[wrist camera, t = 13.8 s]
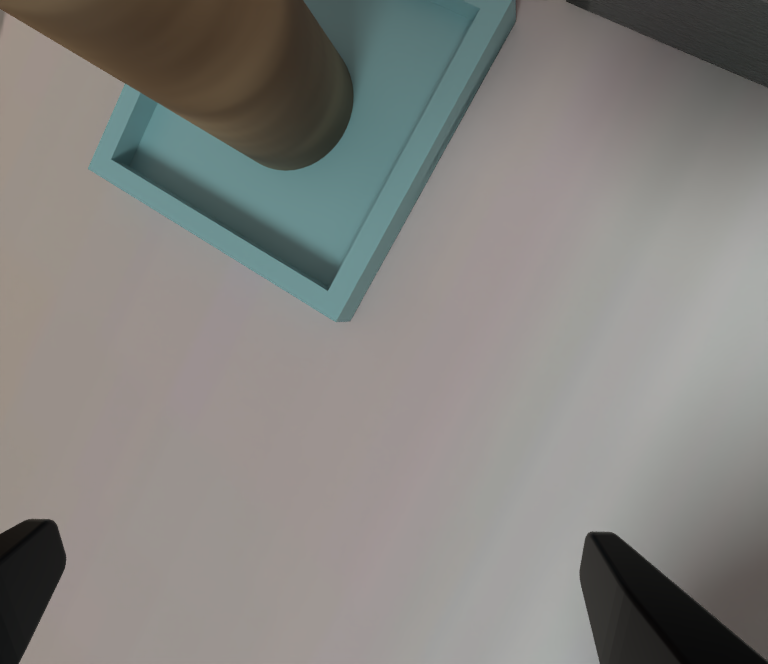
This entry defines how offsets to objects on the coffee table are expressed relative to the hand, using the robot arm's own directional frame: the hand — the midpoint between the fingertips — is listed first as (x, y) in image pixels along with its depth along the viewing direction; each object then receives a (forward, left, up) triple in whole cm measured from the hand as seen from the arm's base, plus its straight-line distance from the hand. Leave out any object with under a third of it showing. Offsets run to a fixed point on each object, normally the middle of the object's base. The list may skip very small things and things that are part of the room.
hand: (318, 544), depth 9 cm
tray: (+10, -8, -11) cm, 17 cm away
